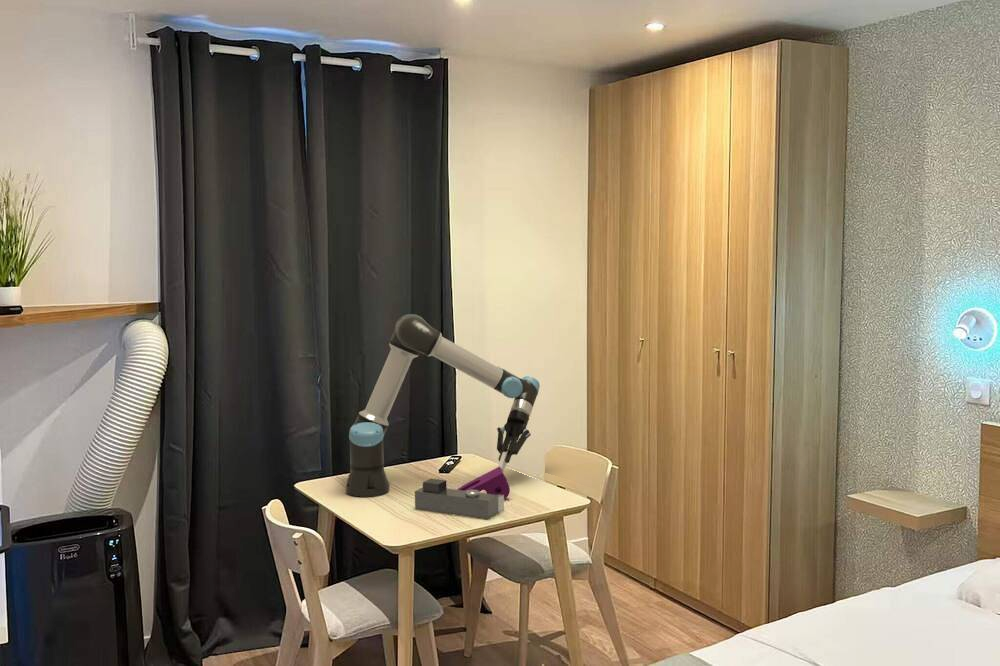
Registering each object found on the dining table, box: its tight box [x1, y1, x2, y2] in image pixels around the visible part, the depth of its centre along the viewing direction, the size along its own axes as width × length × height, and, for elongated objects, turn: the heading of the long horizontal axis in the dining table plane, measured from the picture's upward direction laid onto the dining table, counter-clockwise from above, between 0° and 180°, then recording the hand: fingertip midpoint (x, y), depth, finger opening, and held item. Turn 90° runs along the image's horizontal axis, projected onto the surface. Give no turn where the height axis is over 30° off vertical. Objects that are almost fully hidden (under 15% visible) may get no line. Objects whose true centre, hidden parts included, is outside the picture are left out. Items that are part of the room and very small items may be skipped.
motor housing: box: [414, 478, 505, 520], centre depth 285 cm, size 27×11×9 cm, turn 63°
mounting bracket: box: [456, 466, 511, 501], centre depth 299 cm, size 9×8×18 cm
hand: (500, 469), depth 310 cm, fingers closed
